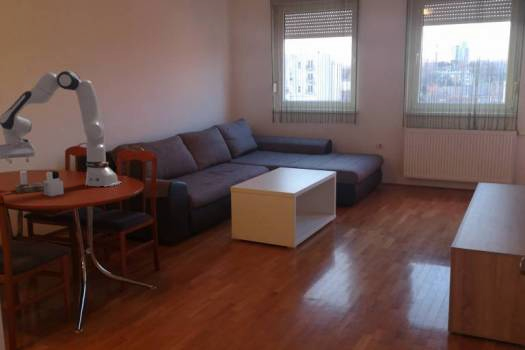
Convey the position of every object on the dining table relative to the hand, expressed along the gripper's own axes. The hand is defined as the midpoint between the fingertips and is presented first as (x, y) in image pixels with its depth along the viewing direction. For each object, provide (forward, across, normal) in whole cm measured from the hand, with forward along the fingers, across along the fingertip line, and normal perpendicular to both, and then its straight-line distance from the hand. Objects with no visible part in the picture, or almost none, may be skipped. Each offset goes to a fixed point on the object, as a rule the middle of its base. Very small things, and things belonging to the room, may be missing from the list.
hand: (19, 162), depth 312 cm
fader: (+15, 0, +3) cm, 15 cm away
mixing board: (+17, +6, +5) cm, 19 cm away
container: (+30, +11, -8) cm, 34 cm away
